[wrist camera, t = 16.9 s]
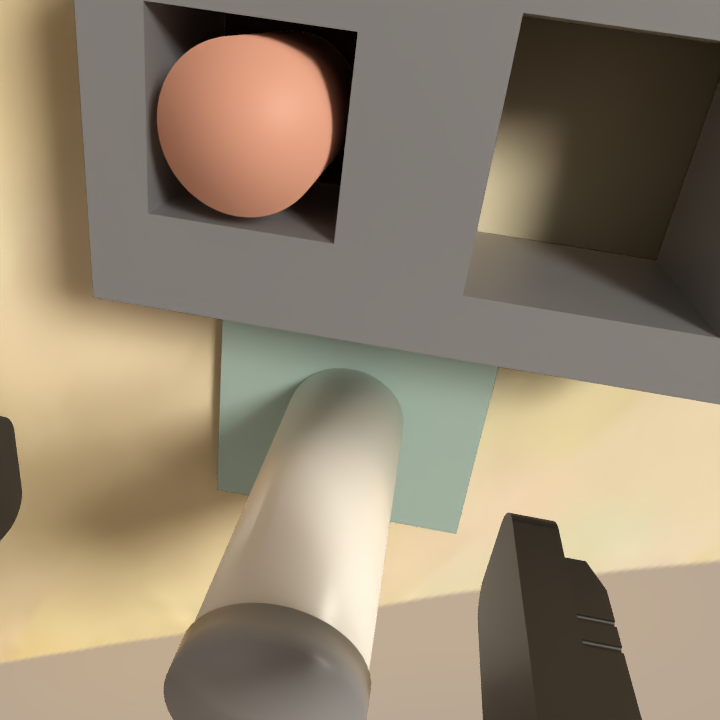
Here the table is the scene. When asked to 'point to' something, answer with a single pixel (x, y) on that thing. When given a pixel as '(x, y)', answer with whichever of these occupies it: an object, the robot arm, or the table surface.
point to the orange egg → (254, 118)
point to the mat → (391, 366)
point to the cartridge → (300, 567)
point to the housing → (399, 200)
